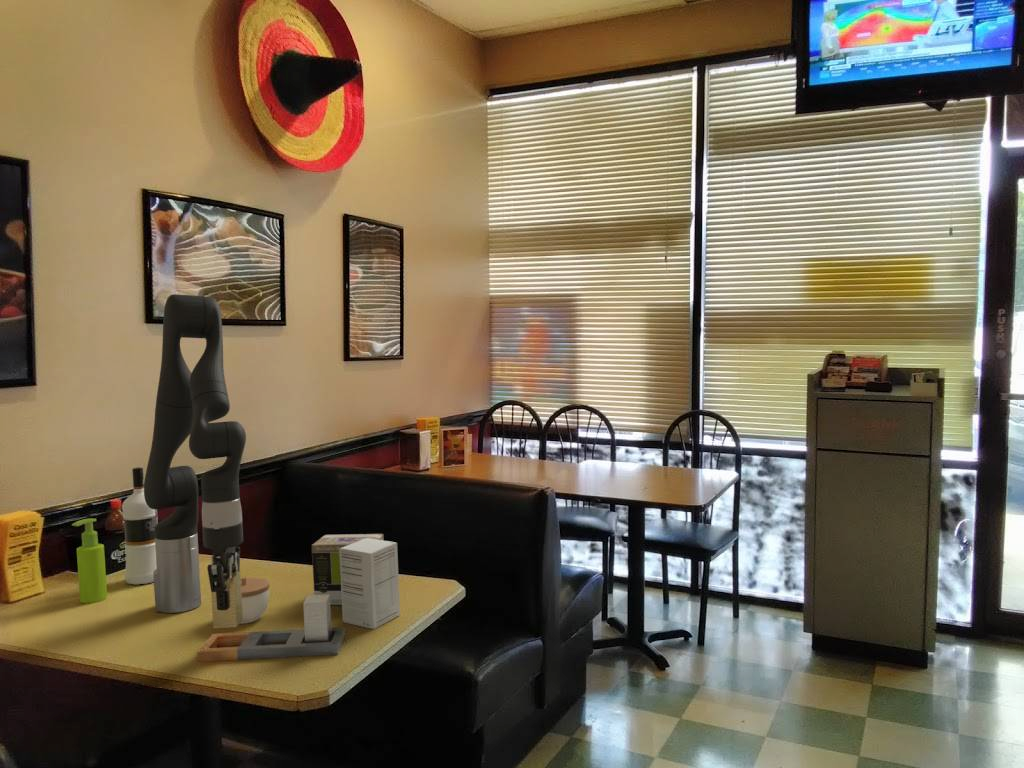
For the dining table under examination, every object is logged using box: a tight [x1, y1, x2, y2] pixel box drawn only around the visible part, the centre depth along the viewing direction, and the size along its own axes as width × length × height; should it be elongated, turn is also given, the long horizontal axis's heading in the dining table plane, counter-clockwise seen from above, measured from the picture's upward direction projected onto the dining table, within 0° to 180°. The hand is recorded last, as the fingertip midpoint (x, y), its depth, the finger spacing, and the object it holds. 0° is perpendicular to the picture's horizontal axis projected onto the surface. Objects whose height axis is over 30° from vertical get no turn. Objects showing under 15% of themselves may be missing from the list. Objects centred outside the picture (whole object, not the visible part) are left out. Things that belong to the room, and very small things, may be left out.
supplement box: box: [339, 538, 401, 630], centre depth 171 cm, size 10×9×17 cm
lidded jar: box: [238, 576, 270, 625], centre depth 173 cm, size 11×11×9 cm
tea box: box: [311, 533, 385, 606], centre depth 184 cm, size 15×10×15 cm, turn 84°
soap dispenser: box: [71, 517, 108, 604], centre depth 188 cm, size 6×7×20 cm
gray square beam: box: [302, 594, 332, 643], centre depth 157 cm, size 4×4×10 cm
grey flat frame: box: [197, 626, 346, 663], centre depth 156 cm, size 27×9×2 cm, turn 94°
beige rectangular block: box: [210, 570, 243, 629], centre depth 155 cm, size 4×4×10 cm
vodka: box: [121, 467, 159, 586], centre depth 202 cm, size 9×9×30 cm
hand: (227, 604), depth 155 cm, fingers closed on beige rectangular block, 4 cm apart
